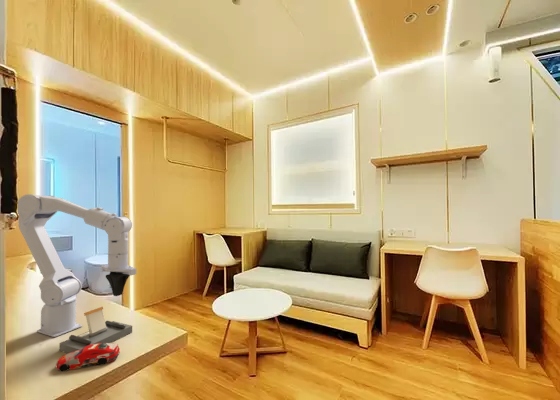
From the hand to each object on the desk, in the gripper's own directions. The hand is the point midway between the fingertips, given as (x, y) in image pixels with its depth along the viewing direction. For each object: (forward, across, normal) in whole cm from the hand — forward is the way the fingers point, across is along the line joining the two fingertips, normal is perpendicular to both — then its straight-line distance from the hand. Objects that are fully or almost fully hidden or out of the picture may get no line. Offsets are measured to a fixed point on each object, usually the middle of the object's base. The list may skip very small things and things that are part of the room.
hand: (117, 295), depth 85 cm
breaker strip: (+10, +3, -8) cm, 13 cm away
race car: (+11, +12, -16) cm, 22 cm away
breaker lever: (+8, +3, -8) cm, 12 cm away
